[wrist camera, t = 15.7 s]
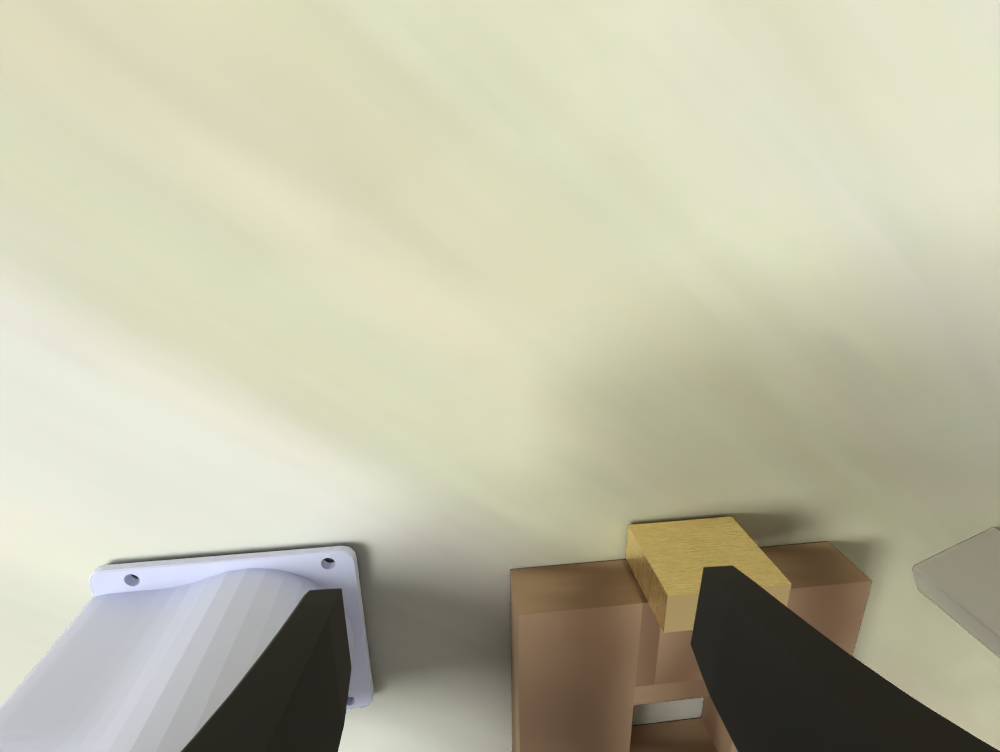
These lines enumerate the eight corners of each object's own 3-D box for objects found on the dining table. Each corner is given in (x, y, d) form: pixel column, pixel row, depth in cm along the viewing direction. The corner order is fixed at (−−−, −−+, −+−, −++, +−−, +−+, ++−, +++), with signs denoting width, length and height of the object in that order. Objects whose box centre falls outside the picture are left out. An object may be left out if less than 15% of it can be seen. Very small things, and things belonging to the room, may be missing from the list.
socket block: (512, 772, 26) (520, 831, 24) (509, 569, 22) (518, 615, 20) (784, 738, 27) (817, 790, 25) (828, 541, 23) (872, 580, 21)
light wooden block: (620, 631, 24) (654, 715, 20) (627, 525, 22) (667, 595, 18) (715, 621, 24) (767, 702, 20) (731, 516, 22) (791, 583, 18)
